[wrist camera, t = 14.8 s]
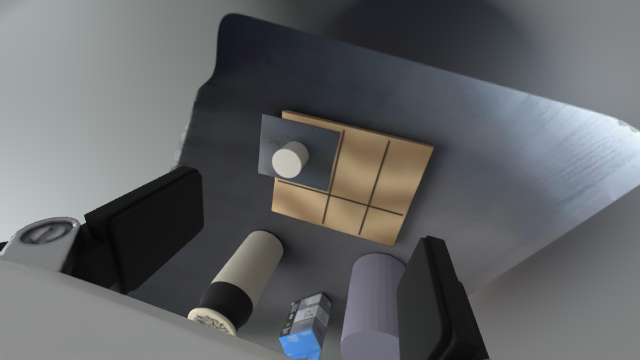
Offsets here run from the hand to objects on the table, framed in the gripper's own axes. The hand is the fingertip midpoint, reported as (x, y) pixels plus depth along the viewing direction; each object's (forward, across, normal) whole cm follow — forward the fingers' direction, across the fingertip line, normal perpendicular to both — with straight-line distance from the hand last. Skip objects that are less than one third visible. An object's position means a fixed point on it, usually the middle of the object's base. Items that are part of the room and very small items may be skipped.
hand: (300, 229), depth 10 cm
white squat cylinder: (+27, +8, +8) cm, 29 cm away
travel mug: (+28, +12, +30) cm, 43 cm away
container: (+28, -11, +28) cm, 41 cm away
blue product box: (+28, 0, +42) cm, 51 cm away
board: (+28, +2, +11) cm, 30 cm away
